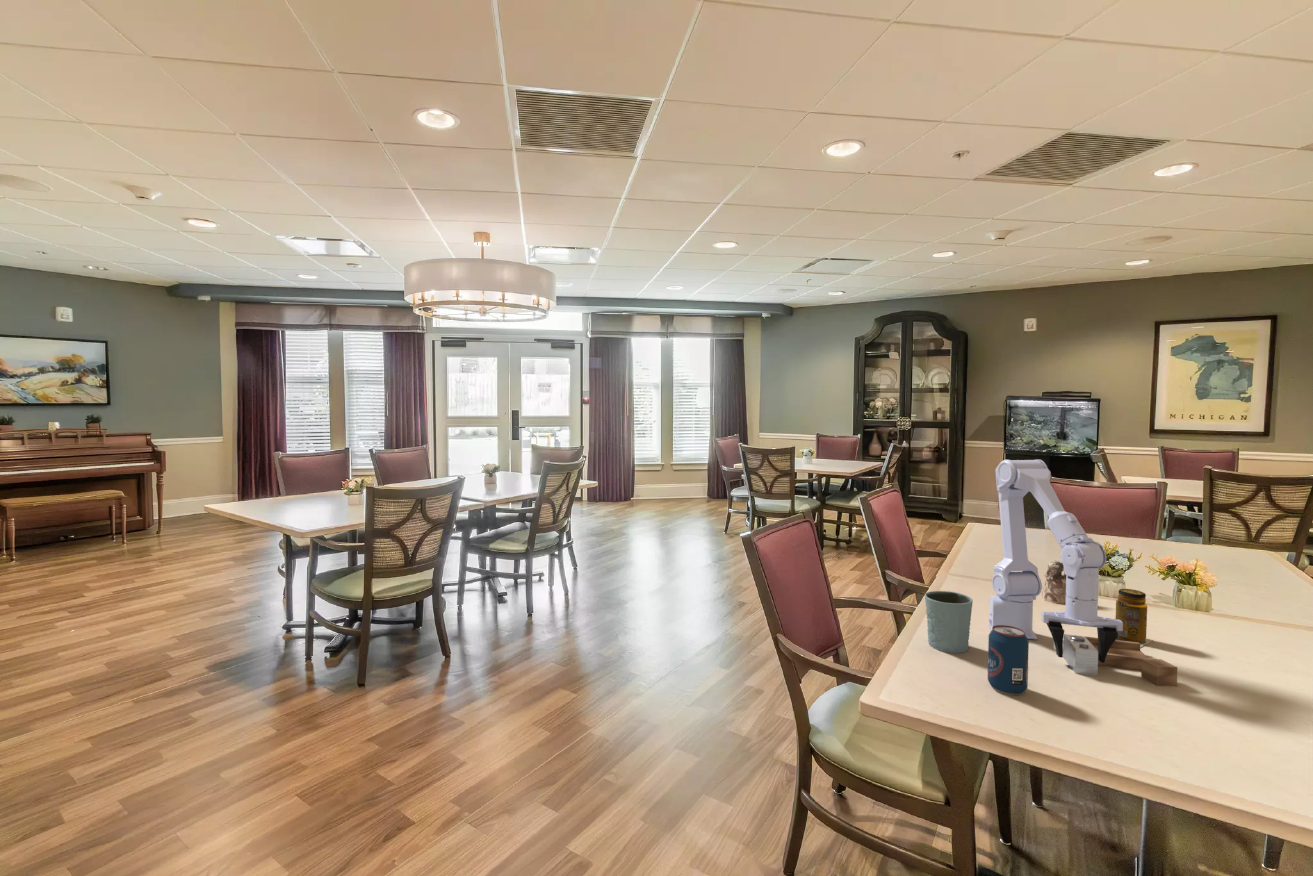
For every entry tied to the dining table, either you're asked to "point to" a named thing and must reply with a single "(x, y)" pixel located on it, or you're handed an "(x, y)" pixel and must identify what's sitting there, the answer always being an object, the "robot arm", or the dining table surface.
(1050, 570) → the figurine
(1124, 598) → the condiment
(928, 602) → the green embossed planter
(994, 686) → the soda can
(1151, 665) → the walnut block
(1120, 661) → the stand
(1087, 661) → the block
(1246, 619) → the dining table surface
